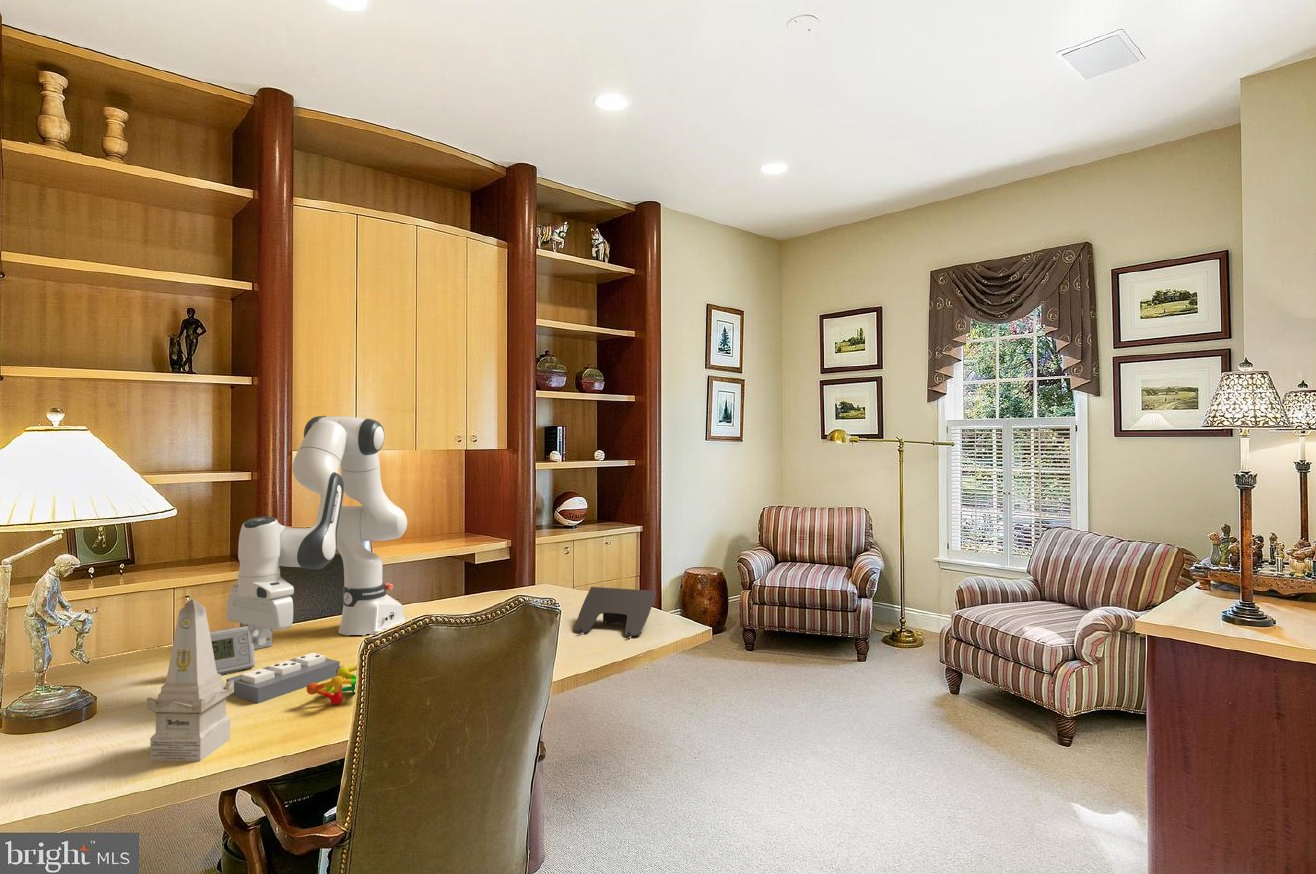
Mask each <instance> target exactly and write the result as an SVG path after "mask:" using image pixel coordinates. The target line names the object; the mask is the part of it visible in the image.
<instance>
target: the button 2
mask: <svg viewBox="0 0 1316 874" xmlns="http://www.w3.org/2000/svg"><path fill="white" fill-rule="evenodd" d="M289 660H290V659H288V660H285V661H280V662H278V663H277V662H276V663H274V664H272V665H268V666H269V670H270V671H274V672H275V674H278V675H285V674H288V673H291V672H294V671H297V670H300V669H301V663H297V662H293V661H289Z"/></svg>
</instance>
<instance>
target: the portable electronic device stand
mask: <svg viewBox="0 0 1316 874" xmlns="http://www.w3.org/2000/svg"><path fill="white" fill-rule="evenodd" d="M656 594H657V590H645V589H631V588H630V589H629V588H618V587H617V588H616V587H615V588H614V587H613V588H612V587H599V586H590V588H589V590H588V592H587V594H586V597H585V598H584V601H583V603H582V606H581V608H580V611H579V613H578V616H577V619H576V623H575V627H574V628H575V630H576V631H577V632H579V635H581V636H582V635H584V634H585V633H588V632H589V631H590V630H591V629H592V627H593V625H594V624H595V622H596V621H597V618H598V617H599V616H600V615H601V614H602V622H603V624H604V623H607V624H608V625H609V623H612V624H622V625H625V624H626V625H625V626H624V627H625V629H624V635H625V636H626V637H628V639H629V638H631V637H632V638H633V637H635V636H640V635H641V634H642V630H643V629H644V626H645V625H646V623H647V621H648V618H649V616H650V613H651V611H652V607H653V604H654V601H655V597H656ZM607 624H606V625H607ZM632 638H631V639H632Z"/></svg>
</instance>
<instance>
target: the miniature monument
mask: <svg viewBox="0 0 1316 874" xmlns="http://www.w3.org/2000/svg"><path fill="white" fill-rule="evenodd" d="M206 609H207V607H205V606H204V605H203V604H201V603H200V602H198V601H197V600H196V599H194V598H191V599H190V600H189V601H188V602H187V603H186V604H185V605H184V606H183V607H182V608H181V609H180V610H179V611H178V616H177V620H176V627H175V631H174V637H173V643H172V646H171V647H172V648H171V652H170V653H171V654H170V659H169V664H168V671H167V675H166V681H165V683H164V684H163V685H162V686H161V687H160V692H159V693H158V694H157V698H152V697H147V698H146V705H145V707H146V712H147V713H155V733H154V734H153V735H152V736H151V737H150V739H149V740H150V742H149V743H150V745H149V746H150V748H149V749H150V752H149V753H150V754H149V755H150V757H149V759H150V760H162V761H163V762H165V760H169V761H168V762H178V761H177V760H180V761H179V762H202V761H203V760H204V759H205V758H207V757H208V756H209V755H211V754H213V753H214V752H215V751H217V750H218V749H219V748H220V747H222V746H223V745H225V744H226V743H228V742H229V741H230V740H231V718H230V717H228V716H227V714H226V713H227V709H226V708H227V706H226V704H227V697H228V696H231V695H230V694H231V693H233V692H234V680H230V681H228V682H227V683H225V681H224V679H222V675H220V674H218V673H217V670H216V665H215V659H214V653H213V648H212V642H211V636H210V632H211V631H210V626H209V622H208V621H209V620H208V615H207V611H206ZM224 743H225V744H224ZM150 760H149V761H150Z"/></svg>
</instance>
